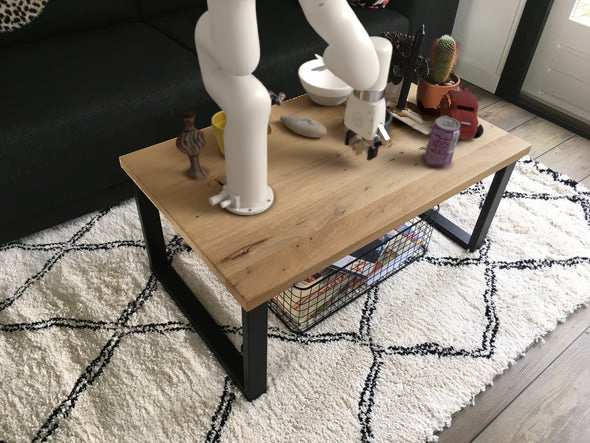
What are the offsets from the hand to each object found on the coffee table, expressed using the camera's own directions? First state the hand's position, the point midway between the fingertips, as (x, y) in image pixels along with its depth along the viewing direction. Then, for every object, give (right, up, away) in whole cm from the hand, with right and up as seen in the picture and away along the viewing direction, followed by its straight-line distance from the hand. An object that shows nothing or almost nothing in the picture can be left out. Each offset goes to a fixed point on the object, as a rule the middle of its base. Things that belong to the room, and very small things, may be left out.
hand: (360, 150), depth 133 cm
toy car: (+29, +12, +18) cm, 36 cm away
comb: (+15, +9, +12) cm, 21 cm away
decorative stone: (-15, +7, +12) cm, 20 cm away
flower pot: (-34, 0, +3) cm, 34 cm away
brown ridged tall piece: (-43, -7, -5) cm, 44 cm away
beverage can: (+21, -3, +3) cm, 22 cm away
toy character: (+1, -1, 0) cm, 1 cm away
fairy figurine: (-7, +24, +17) cm, 30 cm away
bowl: (-7, +20, +26) cm, 34 cm away
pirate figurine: (-31, +7, +3) cm, 32 cm away
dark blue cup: (+4, +7, +12) cm, 15 cm away
